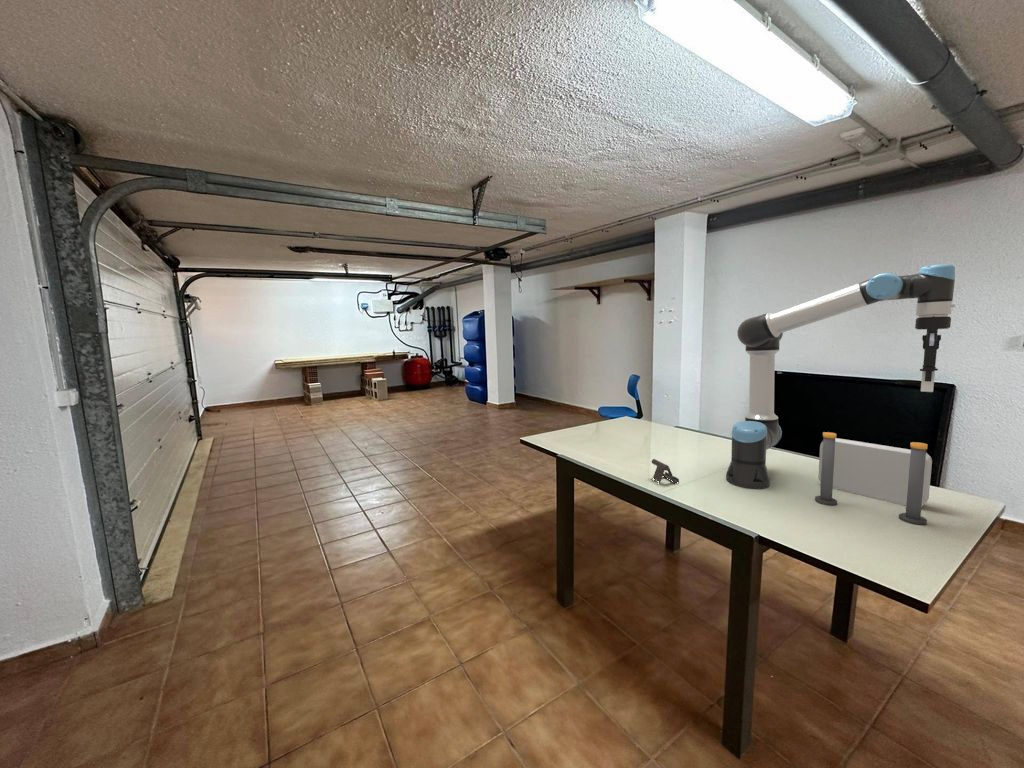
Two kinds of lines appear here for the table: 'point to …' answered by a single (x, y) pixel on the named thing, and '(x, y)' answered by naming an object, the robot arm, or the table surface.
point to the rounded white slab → (874, 470)
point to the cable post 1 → (827, 470)
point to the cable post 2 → (915, 485)
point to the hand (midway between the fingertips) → (926, 391)
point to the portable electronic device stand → (660, 471)
